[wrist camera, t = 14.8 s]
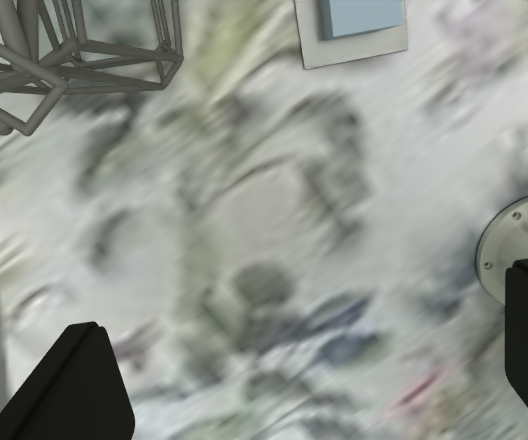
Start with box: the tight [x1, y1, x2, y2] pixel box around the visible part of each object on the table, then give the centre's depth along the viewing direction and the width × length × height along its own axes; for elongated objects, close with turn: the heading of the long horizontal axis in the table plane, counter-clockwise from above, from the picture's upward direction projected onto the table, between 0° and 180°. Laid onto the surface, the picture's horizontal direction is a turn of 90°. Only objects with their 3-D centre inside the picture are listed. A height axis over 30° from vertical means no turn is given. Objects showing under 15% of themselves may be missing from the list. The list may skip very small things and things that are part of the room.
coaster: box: [294, 0, 409, 69], centre depth 38 cm, size 9×9×1 cm
